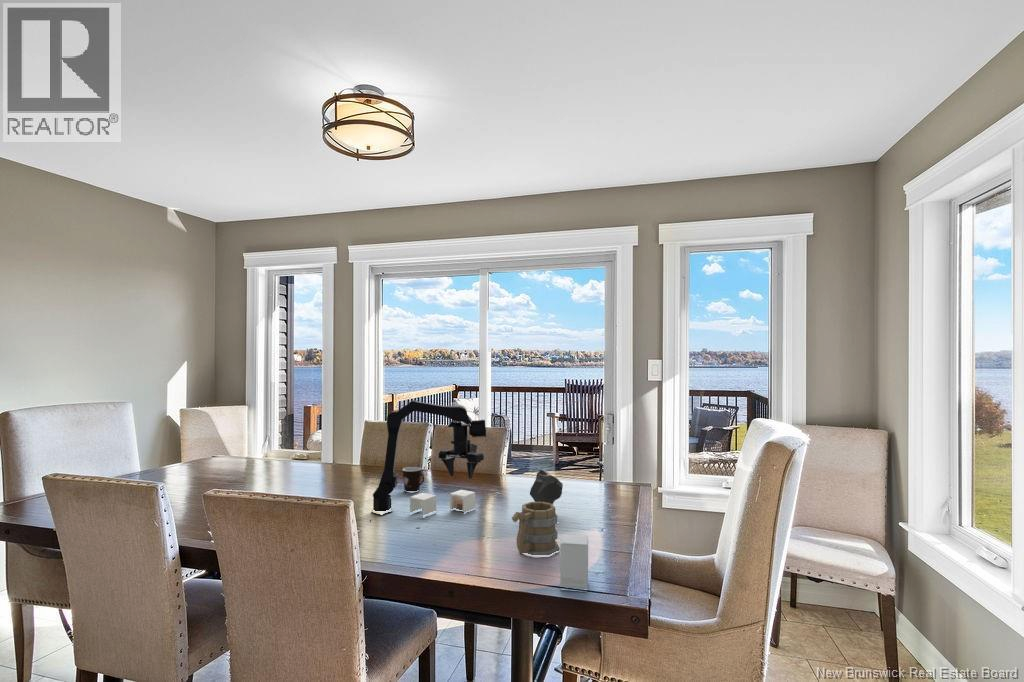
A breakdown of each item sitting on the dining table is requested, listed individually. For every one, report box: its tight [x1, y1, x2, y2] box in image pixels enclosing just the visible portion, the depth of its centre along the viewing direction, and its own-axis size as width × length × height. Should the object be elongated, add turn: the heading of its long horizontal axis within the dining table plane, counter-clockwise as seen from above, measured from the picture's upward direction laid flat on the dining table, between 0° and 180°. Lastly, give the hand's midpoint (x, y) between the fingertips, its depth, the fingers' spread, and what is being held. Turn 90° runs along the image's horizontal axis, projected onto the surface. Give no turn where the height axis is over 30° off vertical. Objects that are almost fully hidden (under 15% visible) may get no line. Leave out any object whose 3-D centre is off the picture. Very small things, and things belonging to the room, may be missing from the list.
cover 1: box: [409, 492, 437, 516], centre depth 202 cm, size 7×7×7 cm
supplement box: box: [559, 533, 589, 590], centre depth 141 cm, size 7×7×13 cm
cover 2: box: [449, 489, 476, 512], centre depth 207 cm, size 7×7×7 cm
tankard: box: [511, 501, 560, 555], centre depth 164 cm, size 20×13×15 cm, turn 141°
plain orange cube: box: [456, 499, 463, 510], centre depth 207 cm, size 4×4×4 cm
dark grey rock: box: [529, 468, 563, 505], centre depth 200 cm, size 14×15×18 cm
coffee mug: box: [402, 466, 425, 491], centre depth 233 cm, size 12×9×10 cm
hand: (461, 477), depth 207 cm, fingers open, 9 cm apart
